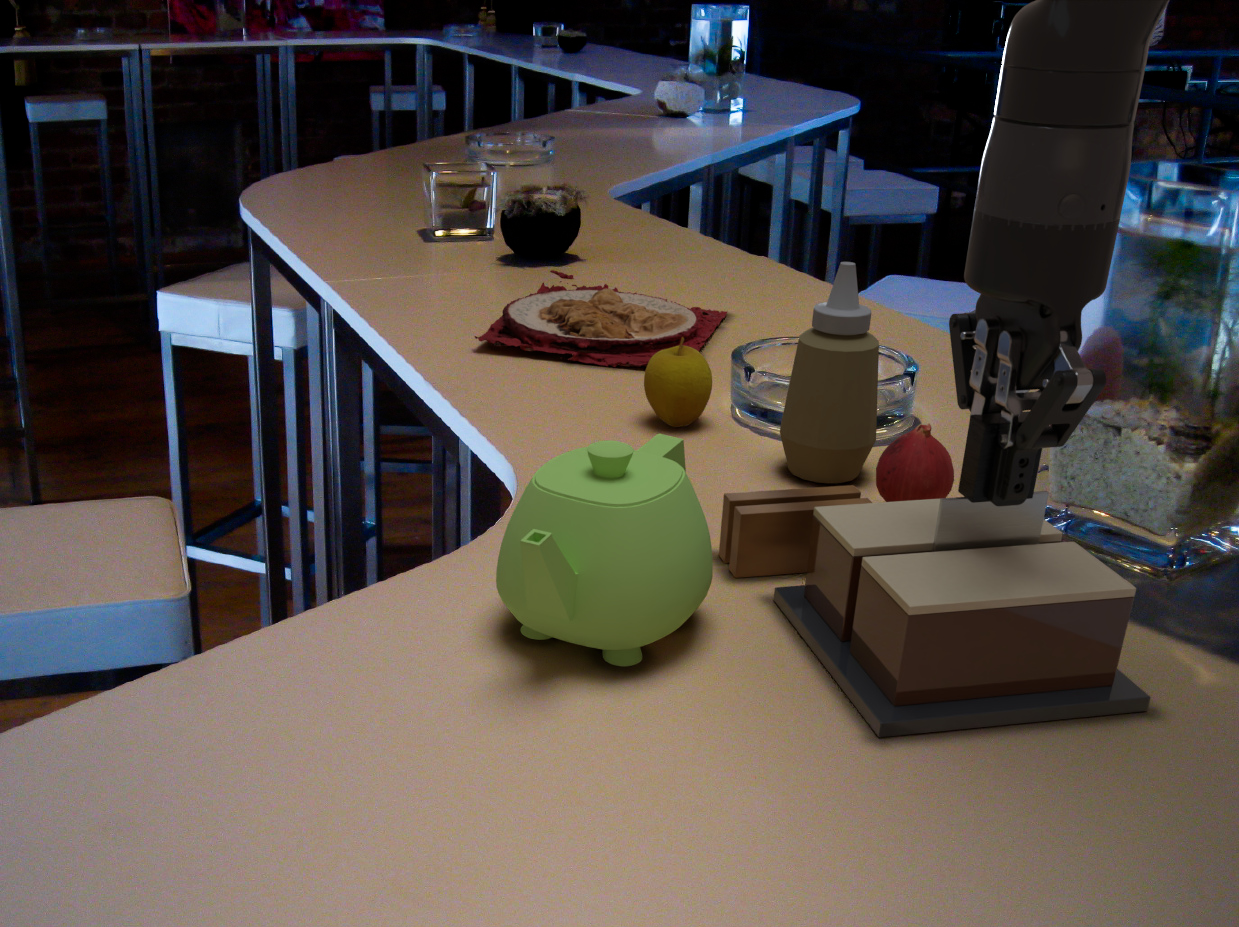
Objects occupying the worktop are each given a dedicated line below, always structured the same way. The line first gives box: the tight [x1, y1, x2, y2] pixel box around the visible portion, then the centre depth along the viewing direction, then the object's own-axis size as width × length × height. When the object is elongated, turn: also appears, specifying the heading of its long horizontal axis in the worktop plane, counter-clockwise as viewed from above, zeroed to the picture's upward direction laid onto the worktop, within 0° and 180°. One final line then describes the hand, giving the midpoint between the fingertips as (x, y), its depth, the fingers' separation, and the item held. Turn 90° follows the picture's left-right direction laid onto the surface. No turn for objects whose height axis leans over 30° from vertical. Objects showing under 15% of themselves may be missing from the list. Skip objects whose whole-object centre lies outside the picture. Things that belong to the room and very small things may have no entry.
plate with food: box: [474, 269, 728, 368], centre depth 146 cm, size 24×26×4 cm
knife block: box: [718, 484, 873, 579], centre depth 92 cm, size 10×4×5 cm, turn 100°
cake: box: [773, 498, 1151, 738], centre depth 79 cm, size 17×17×8 cm
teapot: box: [495, 433, 714, 667], centre depth 81 cm, size 20×13×13 cm
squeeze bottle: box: [779, 261, 880, 484], centre depth 105 cm, size 8×8×18 cm
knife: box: [932, 410, 1050, 552], centre depth 77 cm, size 7×2×12 cm, turn 100°
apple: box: [643, 337, 713, 428], centre depth 118 cm, size 6×6×8 cm
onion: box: [875, 422, 955, 502], centre depth 98 cm, size 6×6×8 cm
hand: (995, 494), depth 77 cm, fingers closed on knife, 2 cm apart
